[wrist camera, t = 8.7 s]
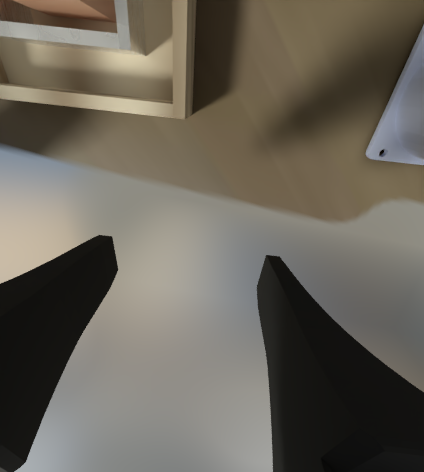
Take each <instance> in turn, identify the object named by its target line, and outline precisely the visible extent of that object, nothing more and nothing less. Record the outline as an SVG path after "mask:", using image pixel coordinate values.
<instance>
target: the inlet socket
mask: <svg viewBox="0 0 424 472" xmlns="http://www.w3.org/2000/svg"><path fill="white" fill-rule="evenodd" d="M114 3H115V12H116V22H117V31H118V33H109V32H100V31H90V30H81V29H72V28H63V27H53V26H44V25H35V24H34V21H33V17H32V13H31V10H30V7H27V6H25V5H23V4H20V3H18V2H15V1H13V0H0V37H4V38H8V39H12V40H16V41H21V42H25V43H29V44H38V45H47V46H56V47H65V48H75V49H84V50H93V51H102V52H111V53H120V54H130V55H139V56H146V44H145V26H144V8H143V0H114Z"/></svg>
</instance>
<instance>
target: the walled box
mask: <svg viewBox="0 0 424 472" xmlns="http://www.w3.org/2000/svg"><path fill="white" fill-rule="evenodd" d="M196 1H197V0H143V8H144V26H145V44H146V56H139V55H130V54H120V53H111V52H102V51H93V50H84V49H75V48H65V47H56V46H47V45H38V44H29V43H25V42H21V41H16V40H12V39H8V38H4V37H0V99H7V100H16V101H25V102H34V103H43V104H52V105H61V106H70V107H79V108H88V109H97V110H106V111H115V112H124V113H133V114H142V115H151V116H160V117H169V118H178V119H186V118H188V117H189V116H191V115H192V108H193V81H194V54H195V28H196ZM30 10H31V13H32V17H33V21H34V24H35V25H44V26H53V27H63V28H72V29H81V30H90V31H100V32H109V33H118V31H117V23H113V22H104V21H95V20H86V19H77V18H68V17H59V16H50V15H47V14H44V13H42V12H40V11H37V10H35V9H32V8H30Z"/></svg>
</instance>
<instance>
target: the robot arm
mask: <svg viewBox="0 0 424 472" xmlns="http://www.w3.org/2000/svg"><path fill="white" fill-rule="evenodd" d="M383 149H384V153H383V154H382V155H379V153H380V151H381V150H383ZM366 156H367V157H368V158H370V159H373V160H382V161H391V162H400V163H409V164H418V165H424V25H423V27H422V29H421V32H420V34H419V36H418V38H417V40H416V43H415V45H414V47H413V49H412V51H411V54H410V56H409V58H408V60H407V62H406V65H405V67H404V69H403V71H402V73H401V76H400V78H399V80H398V82H397V84H396V87H395V89H394V91H393V93H392V95H391V98H390V100H389V102H388V104H387V106H386V108H385V111H384V113H383V115H382V117H381V119H380V122H379V124H378V126H377V128H376V130H375V133H374V135H373V137H372V139H371V141H370V144H369V146H368V148H367V150H366ZM117 271H118V266H117V261H116V255H115V250H114V244H113V239H112V237H111V236H102V235H99V236H96V237H94V238H92V239H90V240H88V241H86V242H84V243H83V244H81V245H79V246H77V247H75V248H73V249H71V250H70V251H68V252H66V253H64V254H62V255H60V256H58V257H56V258H55V259H53V260H51V261H49V262H47V263H45V264H43V265H41V266H39V267H36V268H35V269H32V270H30V271H28V272H26V273H24V274H22V275H20V276H17V277H15V278H13V279H11V280H8V281H6V282H4V283H1V284H0V472H14V471H16V470H17V469H18V468H20V467H21V466H22V465H23V464H24V463H25V462H26V460H27V457H28V454H29V452H30V449H31V446H32V444H33V441H34V439H35V436H36V434H37V431H38V429H39V426H40V424H41V421H42V418H43V416H44V414H45V412H46V409H47V407H48V405H49V402H50V400H51V398H52V395H53V393H54V391H55V388H56V386H57V384H58V382H59V379H60V377H61V375H62V373H63V371H64V369H65V367H66V364H67V362H68V360H69V358H70V356H71V354H72V352H73V350H74V348H75V346H76V344H77V342H78V340H79V338H80V336H81V335H82V333H83V331H84V330H85V328H86V326H87V325H88V323H89V321H90V320H91V318H92V317H93V315H94V314H95V312H96V310H97V309H98V307H99V305H100V304H101V302H102V300H103V299H104V297H105V296H106V294H107V292H108V291H109V289H110V287H111V285H112V283H113V280H114V278H115V276H116V274H117ZM257 299H258V310H259V316H260V321H261V327H262V333H263V339H264V344H265V350H266V357H267V365H268V377H269V389H270V407H271V426H272V450H273V472H424V392H422V391H421V390H419V389H418V388H416V387H415V386H414V385H412V384H411V383H409V382H408V381H407V380H405V379H404V378H403V377H401V376H400V375H398V374H397V373H396V372H394V371H393V370H392V369H391V368H389V367H388V366H387V365H385V364H384V363H383V362H381V361H380V360H379V359H378V358H376V357H375V356H374V355H373V354H371V353H370V352H369V351H368V350H367V349H366V348H364V347H363V346H362V345H361V344H360V343H358V342H357V341H356V340H355V339H354V338H353V337H352V336H350V335H349V334H348V333H347V332H346V331H345V330H344V329H343V328H342V327H341V326H340V325H339V324H337V323H336V322H335V321H334V320H333V319H332V318H331V317H330V316H329V315H328V314H327V313H326V312H325V311H324V310H323V309H322V307H321V306H320V305H319V304H318V303H317V302H316V301H315V300H314V299H313V298H312V297H311V295H310V294H309V293H308V292H307V291H306V290H305V288H304V287H303V286H302V285H301V284H300V282H299V281H298V280H297V279H296V277H295V276H294V275H293V274H292V272H291V271H290V270H289V268H288V267H287V266H286V264H285V263H284V262H283V261H282V260H281V258H280V257H277V256H270V255H266V258H265V261H264V264H263V268H262V271H261V275H260V278H259V281H258V285H257Z"/></svg>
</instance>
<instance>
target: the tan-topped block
mask: <svg viewBox="0 0 424 472" xmlns="http://www.w3.org/2000/svg"><path fill="white" fill-rule="evenodd" d="M13 1H15V2H18V3H20V4H23V5H25V6H27V7H30V8H32V9H35V10H37V11H40V12H42V13H44V14H47V15H50V16H59V17H68V18H77V19H86V20H95V21H104V22H113V23H117V22H116V12H115V3H114V0H13Z"/></svg>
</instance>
